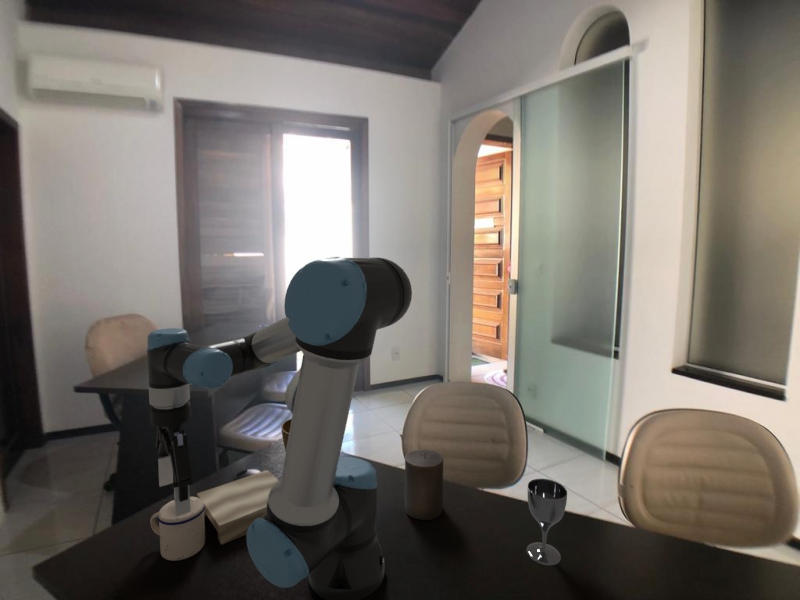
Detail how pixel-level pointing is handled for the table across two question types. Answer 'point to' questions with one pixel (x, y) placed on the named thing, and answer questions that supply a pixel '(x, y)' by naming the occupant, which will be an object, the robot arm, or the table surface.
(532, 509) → the wine glass
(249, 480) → the birch shelf
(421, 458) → the pillar candle
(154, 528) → the teacup with lid
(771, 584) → the table surface
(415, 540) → the table surface
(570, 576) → the table surface
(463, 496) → the table surface
